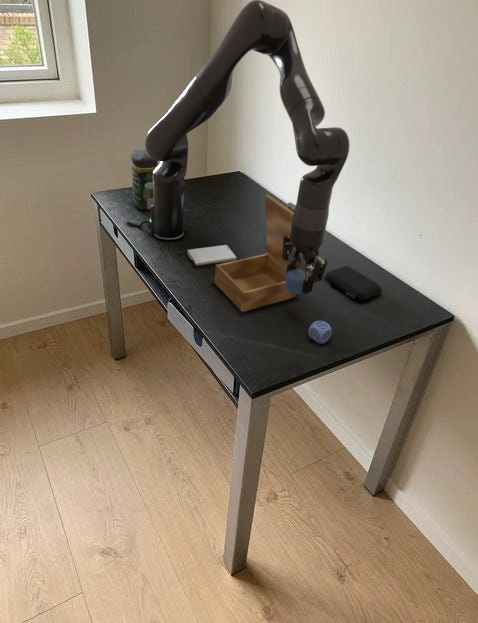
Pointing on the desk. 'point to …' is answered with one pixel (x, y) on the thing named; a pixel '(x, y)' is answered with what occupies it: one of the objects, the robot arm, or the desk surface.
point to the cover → (278, 227)
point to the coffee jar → (142, 179)
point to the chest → (253, 281)
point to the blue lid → (295, 281)
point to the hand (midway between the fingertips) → (298, 285)
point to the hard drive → (211, 255)
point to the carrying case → (353, 283)
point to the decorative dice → (320, 331)
